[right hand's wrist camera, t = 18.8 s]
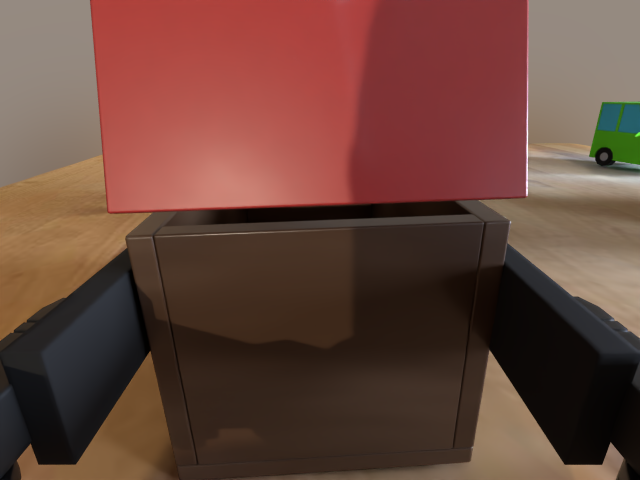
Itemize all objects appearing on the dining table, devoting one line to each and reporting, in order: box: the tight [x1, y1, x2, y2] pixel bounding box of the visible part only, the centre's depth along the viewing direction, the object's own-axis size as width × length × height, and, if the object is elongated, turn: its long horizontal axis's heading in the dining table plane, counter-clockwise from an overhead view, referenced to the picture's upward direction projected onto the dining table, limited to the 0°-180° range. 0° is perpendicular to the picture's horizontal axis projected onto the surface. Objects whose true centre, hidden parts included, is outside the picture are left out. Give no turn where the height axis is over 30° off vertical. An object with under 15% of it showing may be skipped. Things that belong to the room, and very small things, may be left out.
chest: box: [125, 200, 511, 480], centre depth 19 cm, size 16×10×9 cm, turn 3°
